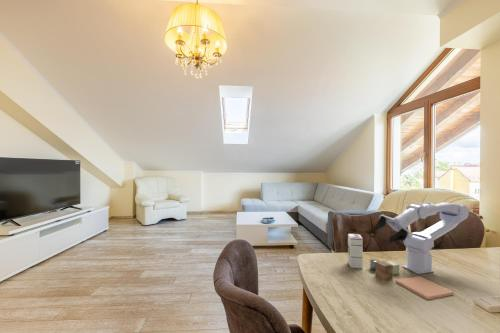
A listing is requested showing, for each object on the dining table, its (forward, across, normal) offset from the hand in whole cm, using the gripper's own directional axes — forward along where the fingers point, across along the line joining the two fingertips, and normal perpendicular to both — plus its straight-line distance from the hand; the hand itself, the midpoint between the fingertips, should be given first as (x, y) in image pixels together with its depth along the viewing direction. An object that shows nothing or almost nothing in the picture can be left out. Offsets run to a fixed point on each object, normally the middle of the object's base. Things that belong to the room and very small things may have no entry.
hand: (381, 234), depth 103 cm
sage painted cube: (0, +8, +18) cm, 20 cm away
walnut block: (+7, +9, +14) cm, 18 cm away
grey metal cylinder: (+5, +3, +18) cm, 19 cm away
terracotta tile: (+1, +20, +11) cm, 23 cm away
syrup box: (+11, -4, +19) cm, 22 cm away
